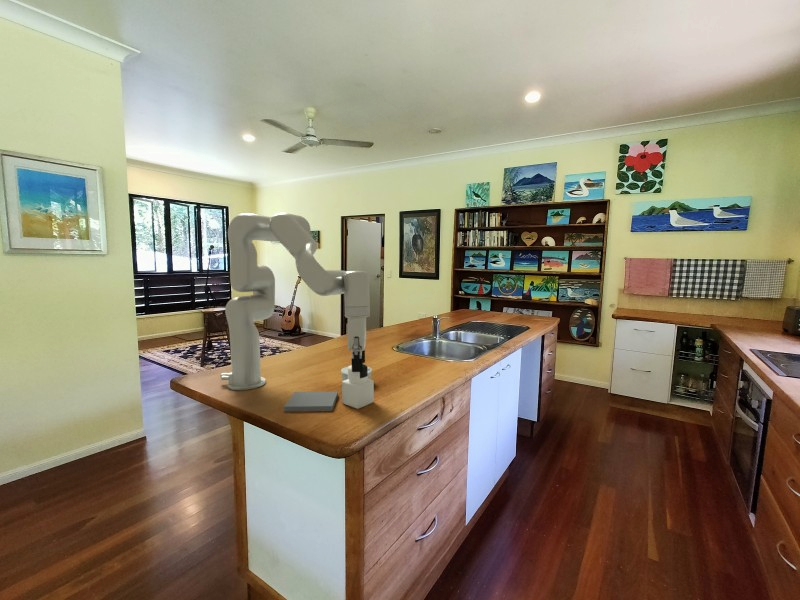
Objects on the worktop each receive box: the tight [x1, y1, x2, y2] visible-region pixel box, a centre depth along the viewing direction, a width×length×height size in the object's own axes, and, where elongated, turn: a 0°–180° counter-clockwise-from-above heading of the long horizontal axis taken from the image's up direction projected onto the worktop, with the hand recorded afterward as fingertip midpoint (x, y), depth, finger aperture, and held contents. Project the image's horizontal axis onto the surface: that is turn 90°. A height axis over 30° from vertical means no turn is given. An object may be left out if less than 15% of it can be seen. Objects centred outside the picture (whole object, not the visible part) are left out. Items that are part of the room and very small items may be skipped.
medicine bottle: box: [341, 363, 375, 410], centre depth 110 cm, size 7×7×12 cm
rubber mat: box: [283, 390, 339, 413], centre depth 110 cm, size 14×12×2 cm
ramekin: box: [340, 365, 373, 381], centre depth 128 cm, size 11×11×5 cm
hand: (358, 367), depth 109 cm, fingers open, 9 cm apart
